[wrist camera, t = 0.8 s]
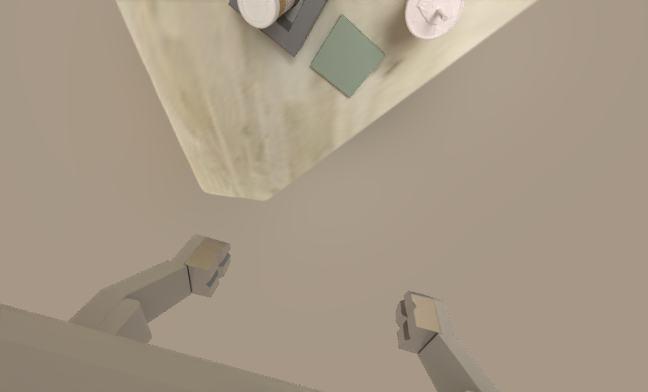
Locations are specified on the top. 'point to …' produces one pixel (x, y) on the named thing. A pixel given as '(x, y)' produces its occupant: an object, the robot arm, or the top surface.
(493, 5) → the top surface
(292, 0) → the sprinkles bottle
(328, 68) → the rubber mat
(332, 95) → the top surface
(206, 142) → the top surface
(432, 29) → the smoothie
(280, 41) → the socket block
